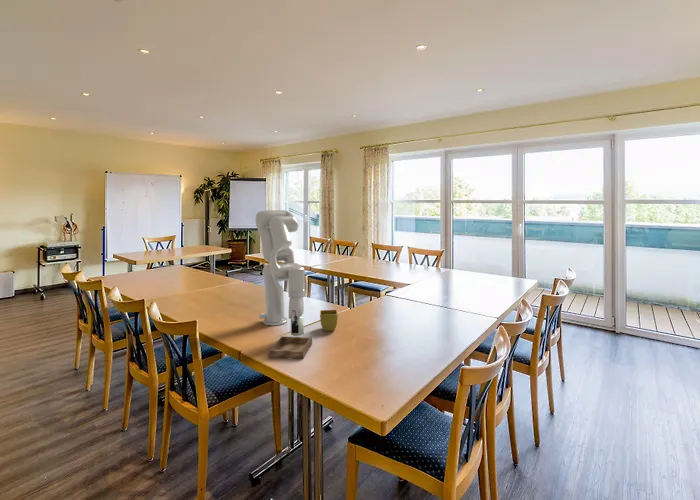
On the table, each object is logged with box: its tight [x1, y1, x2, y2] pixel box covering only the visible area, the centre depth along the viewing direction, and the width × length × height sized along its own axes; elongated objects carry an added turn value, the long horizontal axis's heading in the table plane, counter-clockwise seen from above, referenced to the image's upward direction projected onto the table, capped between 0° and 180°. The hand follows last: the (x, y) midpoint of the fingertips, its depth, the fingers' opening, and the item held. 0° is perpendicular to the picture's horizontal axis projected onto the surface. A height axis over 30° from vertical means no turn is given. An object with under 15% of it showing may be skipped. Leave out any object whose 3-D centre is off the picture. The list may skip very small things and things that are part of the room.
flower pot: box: [319, 309, 339, 332], centre depth 177 cm, size 9×9×9 cm
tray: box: [268, 336, 313, 360], centre depth 151 cm, size 14×16×3 cm
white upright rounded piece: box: [290, 315, 305, 337], centre depth 165 cm, size 6×6×8 cm
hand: (297, 329), depth 165 cm, fingers closed on white upright rounded piece, 6 cm apart
